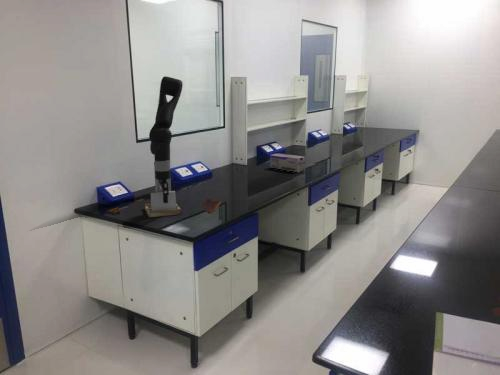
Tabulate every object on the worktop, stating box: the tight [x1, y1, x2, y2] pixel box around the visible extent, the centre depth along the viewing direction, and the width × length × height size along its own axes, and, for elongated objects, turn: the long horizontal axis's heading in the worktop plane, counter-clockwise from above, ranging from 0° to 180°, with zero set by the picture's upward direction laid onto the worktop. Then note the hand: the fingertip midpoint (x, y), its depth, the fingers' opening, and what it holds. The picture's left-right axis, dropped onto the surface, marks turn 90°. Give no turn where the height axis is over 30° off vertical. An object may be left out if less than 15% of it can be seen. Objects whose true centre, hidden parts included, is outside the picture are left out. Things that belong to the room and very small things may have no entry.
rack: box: [144, 203, 182, 218], centre depth 218 cm, size 15×16×4 cm
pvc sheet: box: [150, 190, 177, 211], centre depth 213 cm, size 2×12×11 cm, turn 111°
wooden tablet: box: [200, 198, 223, 215], centre depth 231 cm, size 26×2×10 cm
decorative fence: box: [106, 198, 145, 215], centre depth 229 cm, size 25×2×10 cm
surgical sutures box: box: [269, 152, 306, 173], centre depth 324 cm, size 25×11×11 cm, turn 52°
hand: (164, 200), depth 212 cm, fingers open, 8 cm apart
